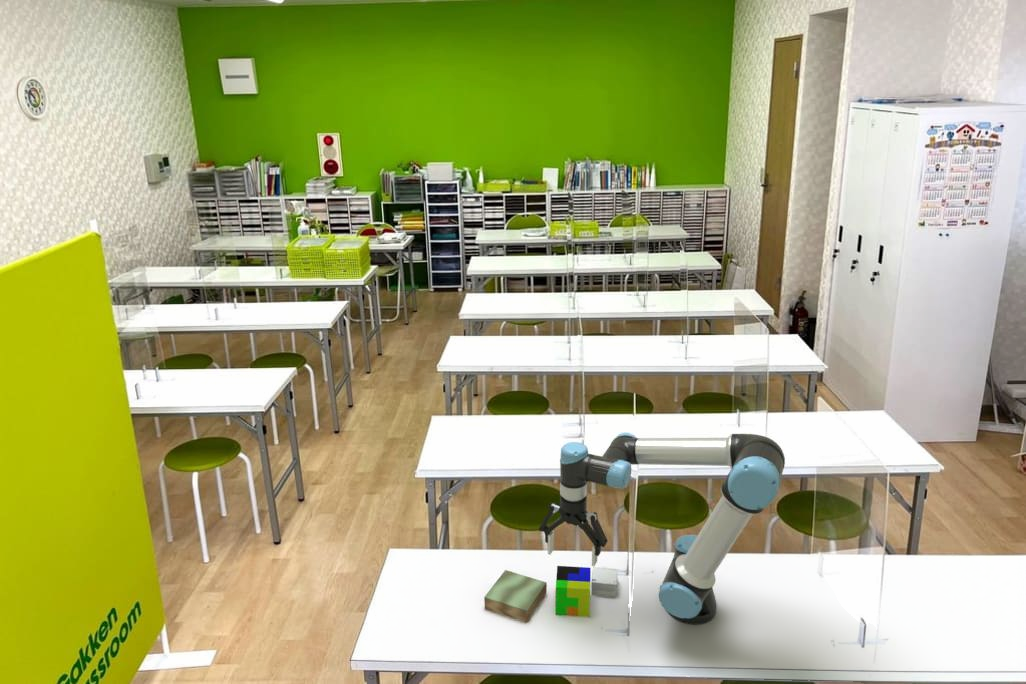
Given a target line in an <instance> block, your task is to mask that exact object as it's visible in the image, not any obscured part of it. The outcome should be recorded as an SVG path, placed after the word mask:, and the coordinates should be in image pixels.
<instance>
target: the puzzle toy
mask: <svg viewBox="0 0 1026 684" xmlns="http://www.w3.org/2000/svg"><path fill="white" fill-rule="evenodd" d="M556 567H557V568H556V579H555V580H556V581H555V605H554V606H555V607H554V608H555V609H554V610H555V611H554V612H555V613H554V615H555V616H564V617H565V616H567V617H581V618H582V617H583V618H590V611H591V608H590V607H591V581H592V574H591V573H592V572H591V571H592V570H591V567H588V566H587V567H583V566H567V565H556Z"/></svg>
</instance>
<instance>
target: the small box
mask: <svg viewBox="0 0 1026 684" xmlns="http://www.w3.org/2000/svg"><path fill="white" fill-rule="evenodd" d="M591 573H592V574H591V581H590V596H594V597H595V596H598V597H607V598H617V595H618V593H617V591H618V568H611V567H602V566H601V567H600V566H592V572H591Z"/></svg>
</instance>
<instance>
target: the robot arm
mask: <svg viewBox="0 0 1026 684" xmlns="http://www.w3.org/2000/svg"><path fill="white" fill-rule="evenodd" d="M785 463H786V457H785V455H784V451H783V449H782V448H781V446H780V445H779V444H778V443H777V442H776V441H775V440H773V439H771V438H769V437H767V436H764V435H761V434H760V435H759V434H754V433H731V434H730V435H729V436H728V437H636V436H635V435H634V434H632V433H630V432H621V433H619V434H617V436H616V437H615V438H614V439H612V441H611V443H610V445H609V446H608V447H607V449H606V450H605V452H604V453H603V455H602V456H601V455H597V454H592V453H589V449H588V446H587V445H586V444H583V443H582V442H579V441H572V442H571V441H570V442H567V443H565V444H564V445H563V446H561V448H560V459H559V469H560V470H559V471H560V472H559V473H560V479H559V481H560V482H559V494H560V495H559V505H557V503H556V502H552V503H551V505H550V506H549V509H548V513H547V515H546V516H545V518H544V520H543V521H542V522H541V525H540V526H539V527H538V530H539V531H540V532H544V536H545V538H544V540H545V541H544V542H545V543H546V544H547V555H551V554H552V553H553V552H554V549H555V531H554V530H556V528H557V527H559V526H560V525H561V524H563V523H564V522H565V523H566V524H568V525H573V526H576V527H577V526H578V527H579V528H580V530H582V531H583V532H584V533H585V535H586V536H587V538H588V539H589V540H590V542H591V543H592V544H593V545H592V546H591V567H596V564H597V563H598V557H599V556H600V554H601V552H602V548H605V547H606V545H607V544H608V538H607V537H606V535H605V532H604V530H603V527H602V525H601V524H600V521H599V518H598V513H597V512H596V511H594V512H593V513H589V512H588V510H587V501H588V500H587V497H588V496H587V493H588V492H587V491H588V482H589V483H593V484H597V485H600V486H601V485H603V486H605V487H609V488H617V489H626V488H628V486H629V484H630V483H629V482H630V480H631V476H632V465H643V466H644V465H651V466H652V465H653V466H654V465H656V466H659V465H660V466H704V467H705V466H707V467H708V466H712V467H713V466H718V467H719V466H720V467H724V466H725V467H730V468H731V469H730V471H729V472H728V474H727V475H726V477H725V479H724V480H723V482H722V485H721V486H720V493H721V494H722V496H721V497H720V499H719V501H718V502H717V504H716V506H715V507H714V508H713V510H712V512H711V513H710V515H709V516H708V518H707V520H706V521H705V523H704V525H703V527H702V528H701V530H700V532H699V533H698V535H697V534H684V535H681V536H679V537H678V538H677V539H676V541H675V543H674V554H673V556H672V557H673V558H672V560H671V563H670V565H669V567H668V569H667V571H666V574H665V576H664V578H663V581H662V583H661V585H660V586H659V591H658V599H659V602H660V605H661V606H662V608H663V609H664V610H665V611H666V612H667V613H668V614H669V616H671V617H672V618H673V619H675V620H677V621H679V622H682V623H685V624H689V625H702V624H705V623H709V622H710V621H712V619H714V618H715V616H716V613H717V608H718V606H717V605H718V604H717V599H716V595H715V592H714V589H713V587H714V585H715V584H716V581H717V579H716V575H715V573H716V571H717V570H718V568H719V567H720V565H721V564H722V562H723V560H725V557H727V555H728V553H729V551H730V550H731V549H732V547H733V545H734V544H735V542H737V541H736V540H737V539H739V536H740V535H741V533H742V532H743V530H744V529H745V527H746V525H747V524H748V522H749V521H750V520H751V518H752V517H753V516H754V515H760V514H761V513H762V512H764V510H765V508H766V507H768V506H769V505H771V503H773V501H774V500H775V499H776V498H777V496H778V494H779V492H780V488H781V480H782V476H783V472H784V469H785ZM557 512H558V513H559V515H560V516H559V517H558V518H557V519H556V520H554V521H553V522H552V523H551V524H550V525H548V524H549V522H550V520H551V518H552V517H553V516H554V514H555V513H557ZM589 523H590V524H591V525H590V524H589ZM547 525H548V526H547Z"/></svg>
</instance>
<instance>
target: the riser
mask: <svg viewBox="0 0 1026 684" xmlns="http://www.w3.org/2000/svg"><path fill="white" fill-rule="evenodd" d="M547 584H548V583H547V582H546V581H544V580H540V579H537V578H533V577H530V576H526V575H523V574H520V573H517V572H514V571H510V570H507V569H505V570H504V571H503V572H502V574H501V575H500V577H499V578H498V579H497V580H496V581H495V582H494V583H493V585H492V586H491V588H490V589H489V590H488V592H487V593H486V594H485V596H484V598H483V599H484V609H485V610H488V611H490V612H494V613H497V614H500V615H502V616H505V617H509V618H511V619H515V620H518V621H521V622H523V623H526V624H528V622H529V621H530V619H531V618H532V616H533V615H534V614H535V612H536V610H537V609H538V608H539V606H540V605H541V603H542V602H543V600H544V598H545V597H546V596H547V587H548V585H547Z"/></svg>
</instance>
